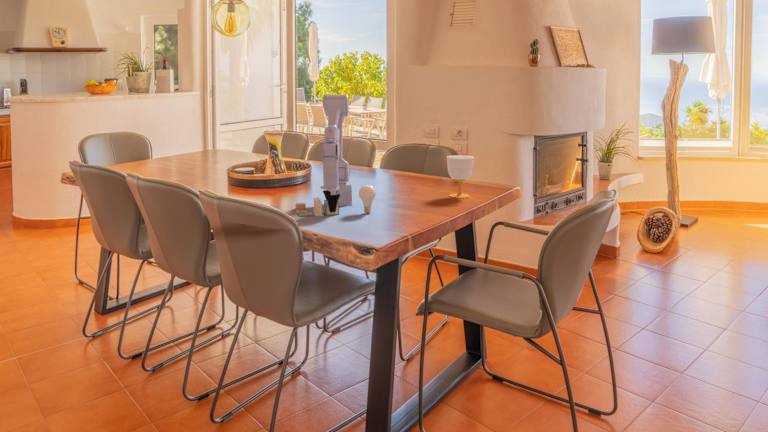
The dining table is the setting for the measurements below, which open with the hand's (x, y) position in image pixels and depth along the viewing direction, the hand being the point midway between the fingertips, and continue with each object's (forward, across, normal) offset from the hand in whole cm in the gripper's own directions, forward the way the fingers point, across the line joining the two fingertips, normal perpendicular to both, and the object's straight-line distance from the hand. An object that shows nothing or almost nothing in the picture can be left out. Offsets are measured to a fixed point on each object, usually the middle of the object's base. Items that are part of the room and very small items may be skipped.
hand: (331, 210), depth 241 cm
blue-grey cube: (+1, 0, 0) cm, 1 cm away
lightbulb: (+2, +2, +14) cm, 14 cm away
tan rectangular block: (+1, -2, -5) cm, 6 cm away
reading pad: (+1, 0, -10) cm, 10 cm away
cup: (+2, -23, +58) cm, 63 cm away
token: (+1, -10, -11) cm, 15 cm away
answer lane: (+1, -8, -11) cm, 13 cm away
